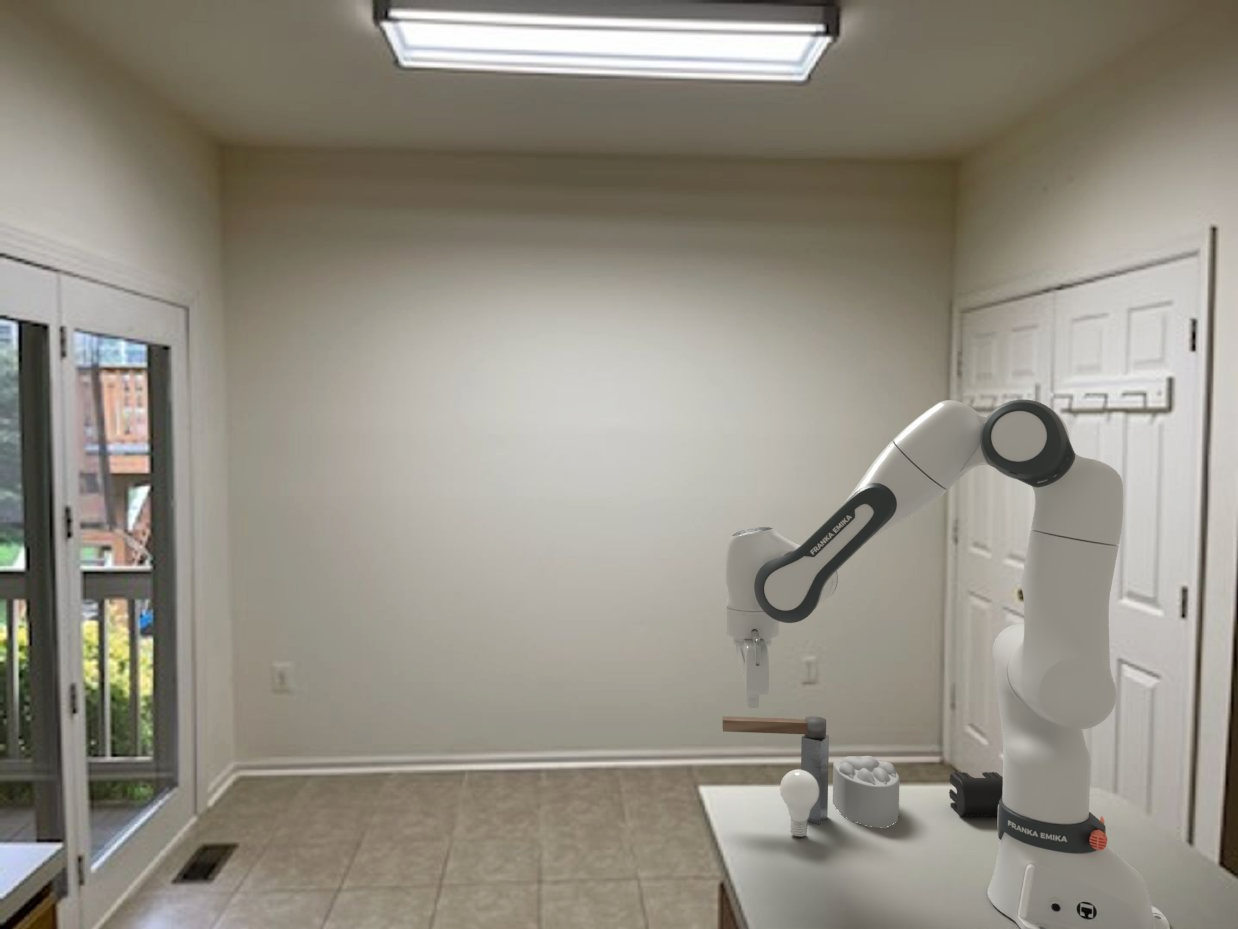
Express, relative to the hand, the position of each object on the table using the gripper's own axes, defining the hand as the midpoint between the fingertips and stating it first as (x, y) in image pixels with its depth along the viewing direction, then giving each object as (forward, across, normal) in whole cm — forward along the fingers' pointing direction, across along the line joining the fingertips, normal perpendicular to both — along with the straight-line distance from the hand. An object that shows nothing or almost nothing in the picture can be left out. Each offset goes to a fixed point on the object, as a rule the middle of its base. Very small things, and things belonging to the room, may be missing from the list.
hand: (752, 705), depth 143 cm
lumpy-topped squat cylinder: (+22, +9, -21) cm, 32 cm away
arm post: (+21, +6, -11) cm, 25 cm away
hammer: (+6, +5, -4) cm, 9 cm away
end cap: (+22, +10, -41) cm, 48 cm away
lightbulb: (+22, -2, -7) cm, 23 cm away
